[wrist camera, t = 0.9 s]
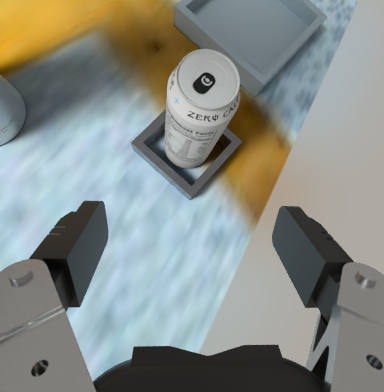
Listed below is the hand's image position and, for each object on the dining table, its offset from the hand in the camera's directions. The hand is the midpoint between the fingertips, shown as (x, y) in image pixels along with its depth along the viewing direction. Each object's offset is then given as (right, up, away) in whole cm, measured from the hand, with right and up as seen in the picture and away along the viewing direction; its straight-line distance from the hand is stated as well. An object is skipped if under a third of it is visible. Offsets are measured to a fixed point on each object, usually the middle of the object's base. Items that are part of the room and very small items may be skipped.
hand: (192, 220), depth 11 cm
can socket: (-1, +7, +21) cm, 22 cm away
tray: (+8, +27, +25) cm, 38 cm away
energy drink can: (-1, +7, +21) cm, 23 cm away
